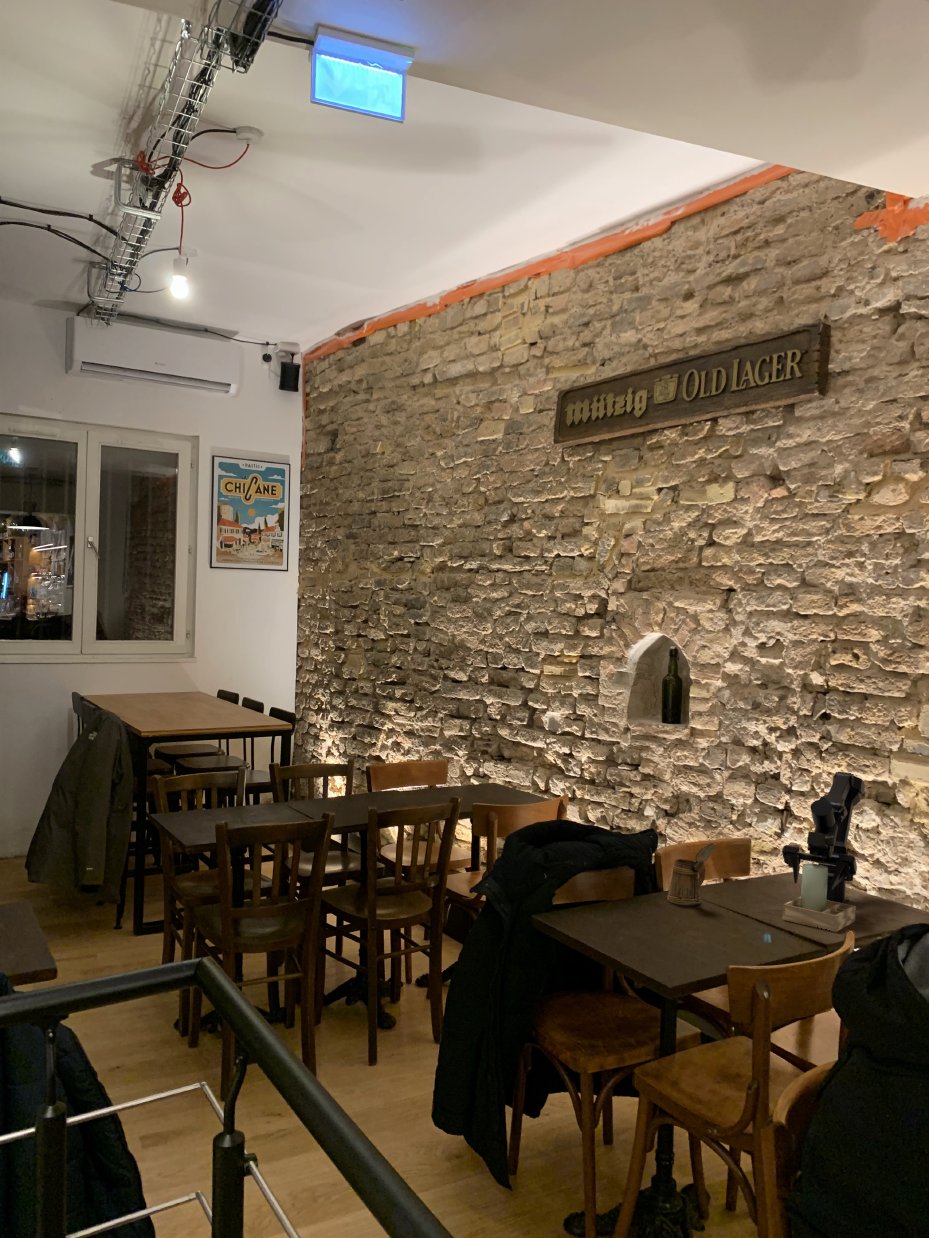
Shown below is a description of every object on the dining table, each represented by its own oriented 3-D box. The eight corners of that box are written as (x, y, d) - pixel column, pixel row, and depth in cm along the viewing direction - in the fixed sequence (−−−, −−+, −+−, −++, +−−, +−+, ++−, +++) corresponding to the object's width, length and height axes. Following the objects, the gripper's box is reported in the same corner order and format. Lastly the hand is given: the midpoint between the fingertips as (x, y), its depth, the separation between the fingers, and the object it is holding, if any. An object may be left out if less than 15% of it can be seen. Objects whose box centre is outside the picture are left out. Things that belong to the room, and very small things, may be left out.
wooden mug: (698, 911, 257) (702, 844, 257) (660, 899, 268) (663, 834, 268) (719, 907, 262) (723, 841, 263) (681, 895, 273) (684, 832, 273)
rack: (803, 909, 265) (803, 895, 265) (855, 921, 256) (855, 906, 256) (782, 919, 254) (783, 904, 254) (836, 931, 245) (836, 916, 245)
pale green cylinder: (799, 910, 260) (801, 862, 260) (824, 913, 258) (826, 865, 259) (801, 916, 254) (803, 867, 254) (826, 919, 252) (829, 870, 253)
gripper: (785, 815, 265) (772, 861, 256) (856, 825, 255) (846, 874, 245) (791, 839, 272) (779, 886, 262) (861, 850, 261) (851, 899, 252)
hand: (812, 885), depth 255 cm, fingers open, 9 cm apart
